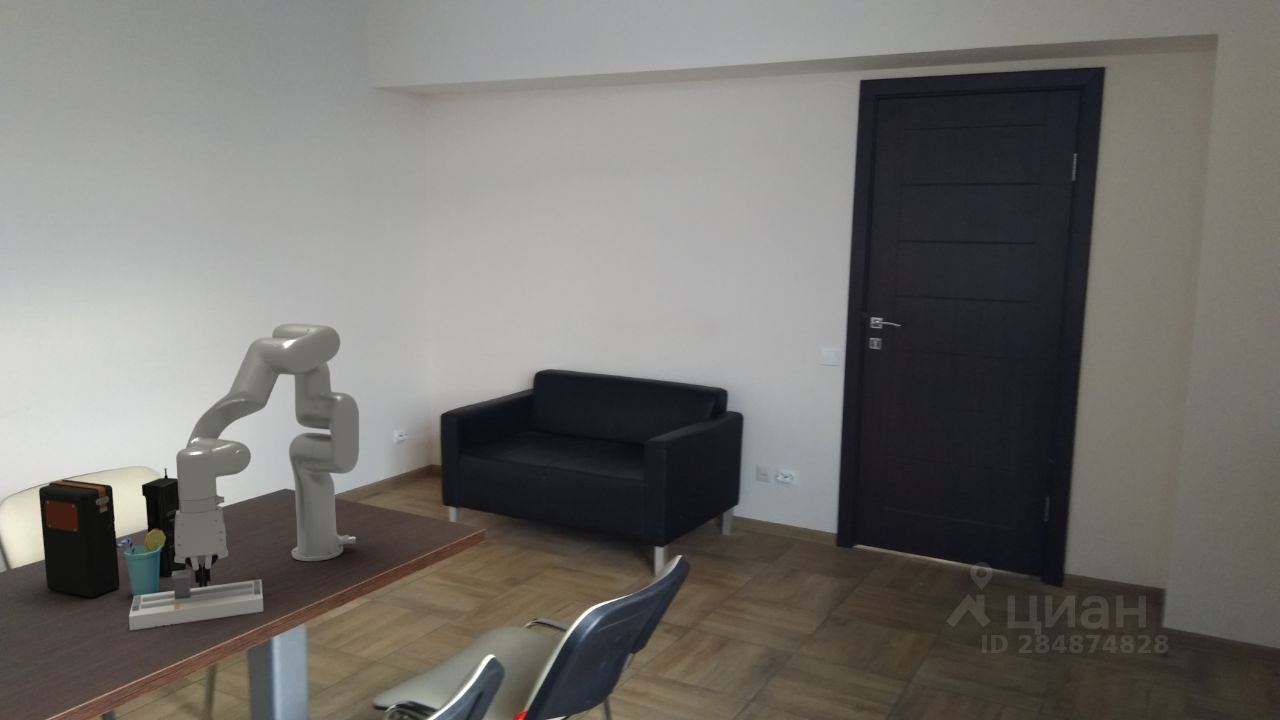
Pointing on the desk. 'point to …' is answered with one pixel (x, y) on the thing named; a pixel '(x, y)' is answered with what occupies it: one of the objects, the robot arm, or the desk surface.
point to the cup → (144, 563)
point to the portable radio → (163, 518)
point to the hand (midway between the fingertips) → (203, 584)
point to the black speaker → (79, 537)
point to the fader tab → (181, 583)
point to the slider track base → (196, 605)
